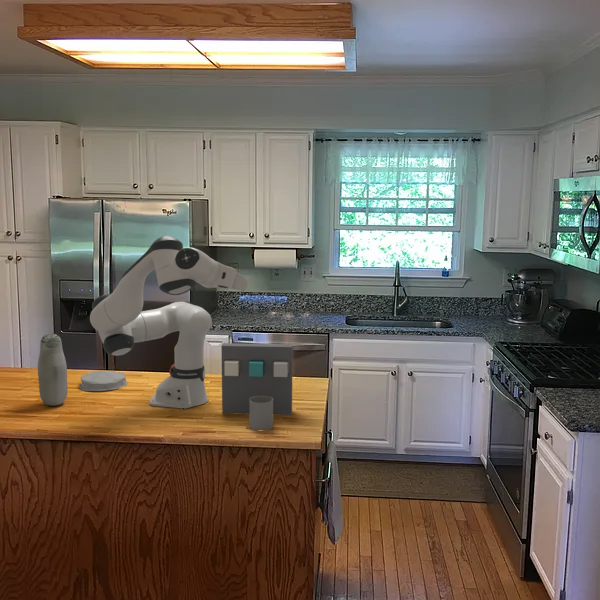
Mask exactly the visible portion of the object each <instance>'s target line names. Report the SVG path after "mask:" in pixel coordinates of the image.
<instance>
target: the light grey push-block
mask: <svg viewBox="0 0 600 600" xmlns="http://www.w3.org/2000/svg"><path fill="white" fill-rule="evenodd" d="M288 372H289V361H274V377H287V376H288Z"/></svg>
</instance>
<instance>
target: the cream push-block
mask: <svg viewBox="0 0 600 600" xmlns="http://www.w3.org/2000/svg"><path fill="white" fill-rule="evenodd" d="M224 372H225V376H238V375H239V373H240V360H226V361H225V362H224Z"/></svg>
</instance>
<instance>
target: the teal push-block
mask: <svg viewBox="0 0 600 600" xmlns="http://www.w3.org/2000/svg"><path fill="white" fill-rule="evenodd" d="M263 374H264V360H250V362H249V376H259V377H263Z"/></svg>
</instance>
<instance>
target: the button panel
mask: <svg viewBox="0 0 600 600" xmlns="http://www.w3.org/2000/svg"><path fill="white" fill-rule="evenodd" d="M220 347H221V406H222V407H221V410H222V411H221V414H232V413H239V415H240V413H241V415H243V414H244V415H245V414H247V415H250V398H251V397H254V396H269V397H272V398H273V415H274V414H280V415H281V416H283V415H284V416H286V415H287V416H292V414H293V355H294V354H293V350H294V349H293V347H294V346H293V344H291V343H290V344H286V343H285V344H283V343H280V344H279V343H274V344H273V343H235V342H234V343H232V342H231V343H229V342H227V343H226V342H224V343H222V344H221V346H220ZM226 360H240V373H239V375H238V376H225V372H224V362H225V361H226ZM250 360H264V374H263V377H259V376H249V362H250ZM274 361H288V376H287V377H274Z"/></svg>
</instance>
